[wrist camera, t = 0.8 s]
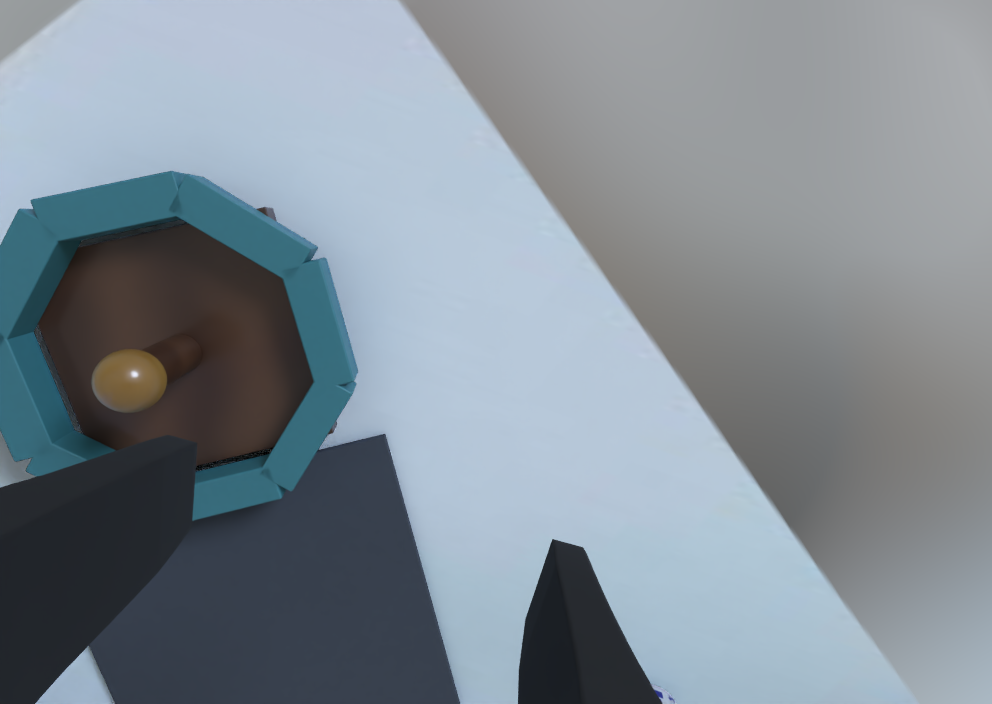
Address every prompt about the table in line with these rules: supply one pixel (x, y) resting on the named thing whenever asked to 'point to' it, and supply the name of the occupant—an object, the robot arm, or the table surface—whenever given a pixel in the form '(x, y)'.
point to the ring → (173, 196)
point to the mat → (289, 602)
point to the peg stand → (176, 344)
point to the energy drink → (663, 695)
